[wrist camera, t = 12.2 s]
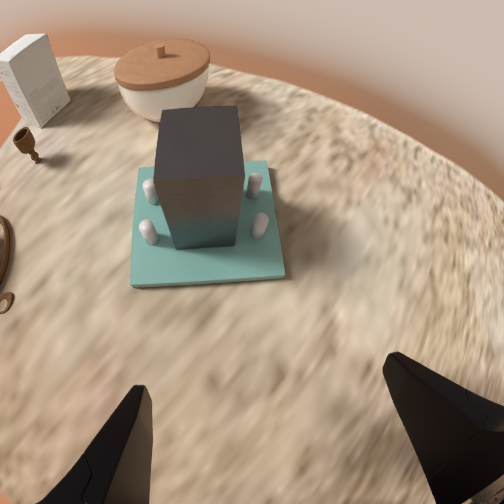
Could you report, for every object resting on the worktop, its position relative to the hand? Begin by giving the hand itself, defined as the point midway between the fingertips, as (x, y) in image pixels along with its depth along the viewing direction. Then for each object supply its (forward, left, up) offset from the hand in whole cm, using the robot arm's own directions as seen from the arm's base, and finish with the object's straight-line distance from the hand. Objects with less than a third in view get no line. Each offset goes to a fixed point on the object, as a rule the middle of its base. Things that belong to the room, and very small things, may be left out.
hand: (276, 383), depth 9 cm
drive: (+13, +1, -13) cm, 18 cm away
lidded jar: (+31, +4, -14) cm, 34 cm away
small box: (+38, +24, -14) cm, 47 cm away
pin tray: (+14, +1, -14) cm, 19 cm away
